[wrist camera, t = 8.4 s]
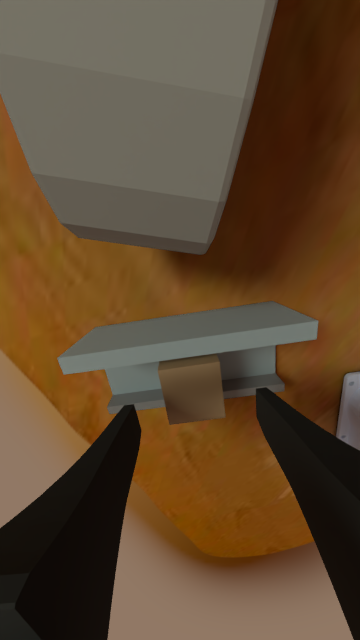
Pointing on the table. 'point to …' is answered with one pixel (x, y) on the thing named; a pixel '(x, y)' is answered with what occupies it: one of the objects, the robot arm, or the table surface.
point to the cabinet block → (192, 388)
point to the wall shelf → (190, 350)
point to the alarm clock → (134, 110)
